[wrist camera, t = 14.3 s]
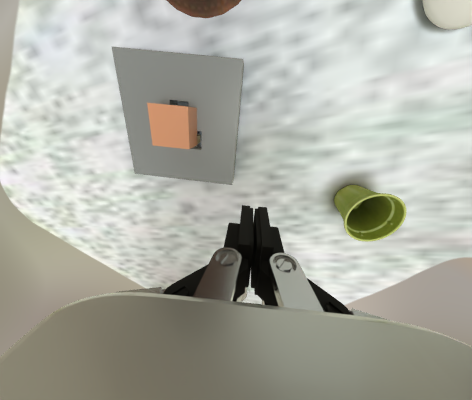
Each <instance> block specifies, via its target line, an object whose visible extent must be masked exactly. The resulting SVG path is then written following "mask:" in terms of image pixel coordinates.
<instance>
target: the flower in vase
mask: <svg viewBox="0 0 472 400" xmlns="http://www.w3.org/2000/svg"><path fill="white" fill-rule="evenodd" d="M423 7H424V11H425V13H426V16H427V17H428V19H429V20H430V21H431V22H432V23H433V24H435V25H436V26H438V27H440V28H443V29H448V30H455V29H461V28H464V27H468V26H470V25H472V0H423Z"/></svg>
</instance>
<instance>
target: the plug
mask: <svg viewBox="0 0 472 400" xmlns="http://www.w3.org/2000/svg"><path fill="white" fill-rule="evenodd" d="M147 106H148V113H149V121H150V129H151V137H152V144H153V146H163V147H172V148H181V149H191V148H193V147H195V146H196V145H197V144H198V143H200V135H197V108H194V107H186V106H176V105H166V104H156V103H147Z"/></svg>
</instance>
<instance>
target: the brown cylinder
mask: <svg viewBox="0 0 472 400" xmlns="http://www.w3.org/2000/svg"><path fill="white" fill-rule="evenodd" d="M167 1H168V2H169V3H170V4H171V5H172V6H173V7H175V8H176V9H177V10H179V11H181V12H183V13H185V14H188V15H190V16H192V17H201V18H210V17H214V16H218V15H222V14H224V13H226V12H227V11H229V10H230V9H232V8H233V7H234V6H236V5H237V4H239V2H240V1H241V0H167Z"/></svg>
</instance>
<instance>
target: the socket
mask: <svg viewBox="0 0 472 400" xmlns="http://www.w3.org/2000/svg"><path fill="white" fill-rule="evenodd" d="M112 51H113V57H114V62H115V68H116V73H117V79H118V84H119V89H120V95H121V100H122V106H123V111H124V117H125V122H126V128H127V133H128V138H129V144H130V149H131V155H132V160H133V166H134V171H135V174H143V175H152V176H161V177H169V178H178V179H186V180H195V181H203V182H212V183H220V184H229V185H232V183H233V179H234V168H235V157H236V146H237V135H238V124H239V113H240V102H241V91H242V80H243V69H244V61H243V59H237V58H226V57H215V56H205V55H194V54H184V53H173V52H163V51H152V50H141V49H131V48H120V47H112ZM177 101H181V102H189V107H194V108H197V131H202V147H199V146H195V147H193V148H191V149H181V148H172V147H163V146H153V144H152V137H151V129H150V121H149V113H148V106H147V103H156V104H166V105H176V106H177Z"/></svg>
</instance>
